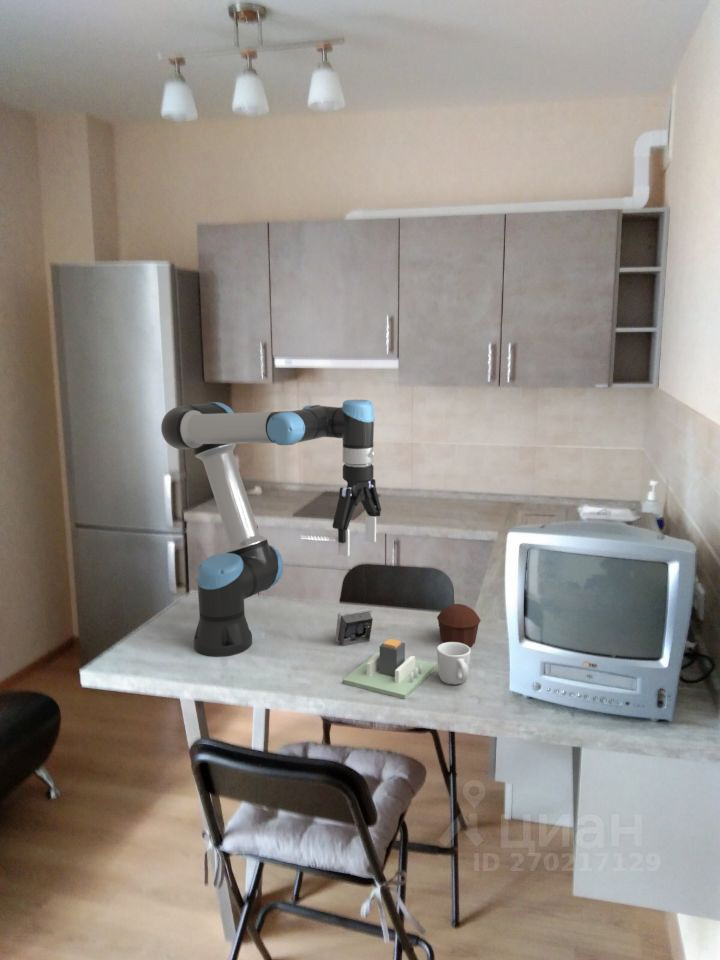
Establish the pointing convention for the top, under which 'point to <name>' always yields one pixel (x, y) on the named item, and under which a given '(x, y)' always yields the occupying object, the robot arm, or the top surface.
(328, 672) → the top surface
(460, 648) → the cup
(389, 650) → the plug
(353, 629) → the electrical switch
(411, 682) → the board
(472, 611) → the muffin
